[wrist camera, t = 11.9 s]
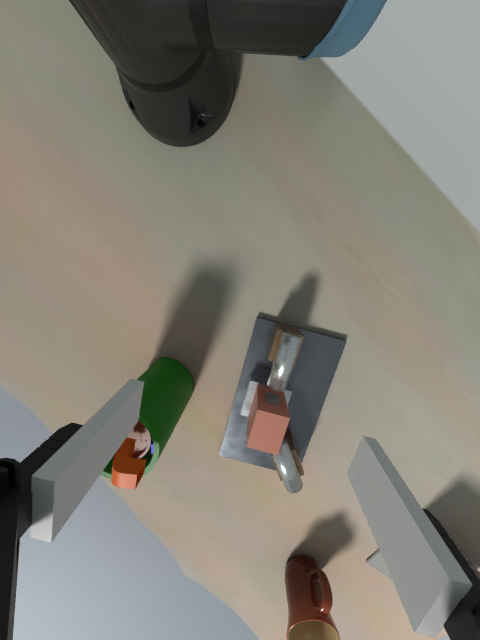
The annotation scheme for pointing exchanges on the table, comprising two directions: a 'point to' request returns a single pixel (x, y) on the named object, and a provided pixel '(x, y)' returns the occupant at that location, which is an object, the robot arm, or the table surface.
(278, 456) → the shaft
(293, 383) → the base plate
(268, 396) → the block
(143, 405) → the motor
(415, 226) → the table surface
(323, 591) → the mug
